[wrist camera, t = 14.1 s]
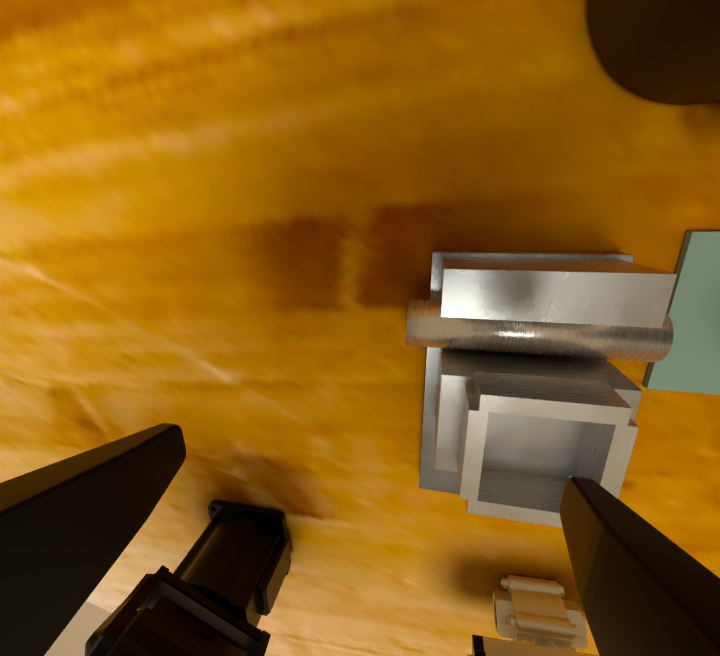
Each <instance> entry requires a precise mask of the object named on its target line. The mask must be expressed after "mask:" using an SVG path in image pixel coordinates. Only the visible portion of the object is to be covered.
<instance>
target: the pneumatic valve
mask: <svg viewBox="0 0 720 656" xmlns="http://www.w3.org/2000/svg"><path fill="white" fill-rule="evenodd" d="M501 585H502V586H503V588H505V589H507V592H504V591H497V590H495V591H494V593H493V611H494V621H495V627H496V631H497V633H498V634H499V636H502V637H508V638H512V639H513V641H509V640H502V639H496V638H490V637H484V636H478V635H472V655H469V654H468V655H467V656H598V655H592V654H586V653H580V652H576V650H575V649H580V650H584V649H585V647H586V646H587V632H586V626H585V622H584V618H583V615H582V612H581V610H580V608H579V606H578V605H577V604H576V603H575V602H573V601H570V600H563V599H562V598H561V596H564V588H563V586H562V585H560V584H558V582H557V581H554V580H546V579H538V578H530V577H522V576H514V575H507V577H506V578H505V577H503V578H502V580H501Z"/></svg>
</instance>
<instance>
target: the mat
mask: <svg viewBox="0 0 720 656" xmlns="http://www.w3.org/2000/svg"><path fill="white" fill-rule="evenodd" d="M675 274H677V276H676V280H675V283H674V287H673V290H672V294H671V297H670V301H669V304H668V308H667V311H666V313H667V314H668V315H669V317H670V319H671V321H672V324H673V330H674V337H673V343H672V347H671V349H670V351H669V353H668V355H667V356H666V357H665V358H664V359H663V360H661V361H659V362H649V365H648V369H647V372H646V376H645V379H644V383H643V386H644V387H646V388H647V389H656V390H669V391H681V392H694V393H706V394H718V395H720V231H687V232H686V236H685V239H684V243H683V246H682V250H681V253H680V257H679V260H678V264H677V267H676V271H675Z"/></svg>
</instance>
